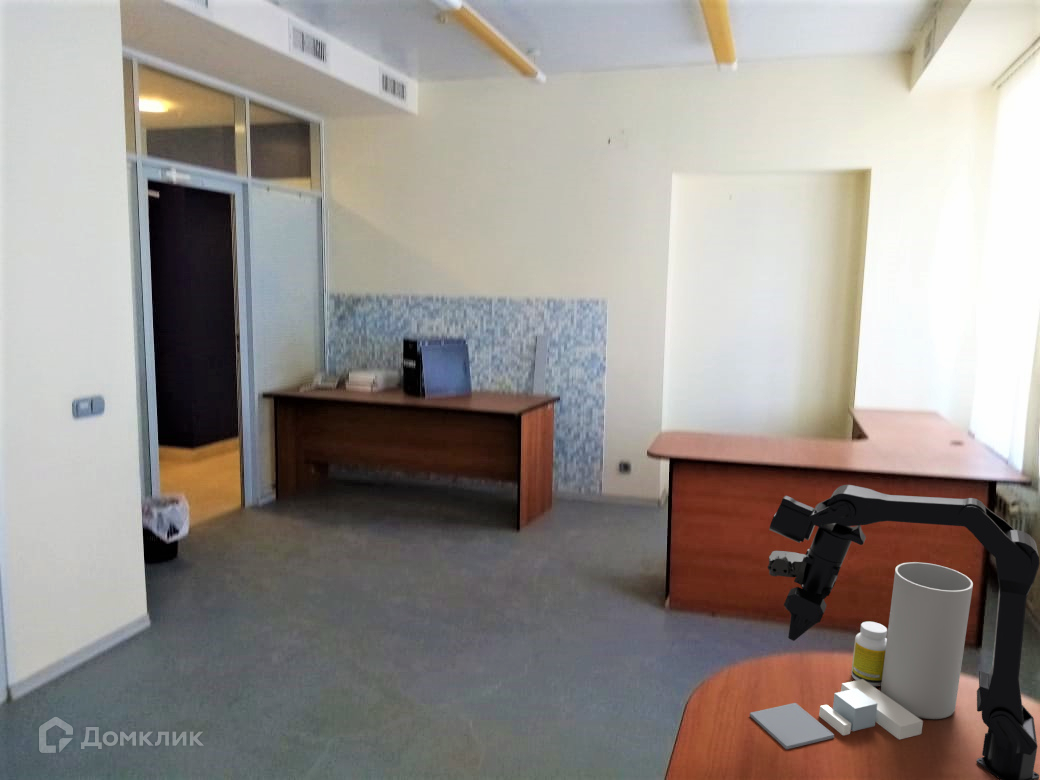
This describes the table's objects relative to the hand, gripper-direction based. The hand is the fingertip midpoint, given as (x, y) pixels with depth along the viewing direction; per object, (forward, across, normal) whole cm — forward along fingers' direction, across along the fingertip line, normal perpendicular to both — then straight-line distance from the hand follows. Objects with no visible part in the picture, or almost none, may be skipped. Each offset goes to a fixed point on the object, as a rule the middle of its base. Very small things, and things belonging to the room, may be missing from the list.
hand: (796, 628), depth 142 cm
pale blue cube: (+12, -1, +14) cm, 19 cm away
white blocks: (+12, -3, +16) cm, 20 cm away
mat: (+14, +6, +5) cm, 17 cm away
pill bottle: (+12, -18, +15) cm, 26 cm away
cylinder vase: (+10, -14, +24) cm, 30 cm away
